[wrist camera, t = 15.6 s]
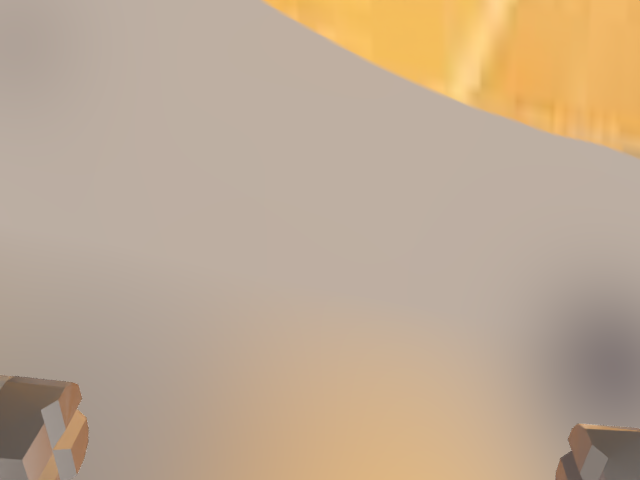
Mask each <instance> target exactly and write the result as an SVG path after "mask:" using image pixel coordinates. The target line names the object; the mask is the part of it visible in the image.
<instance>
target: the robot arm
mask: <svg viewBox="0 0 640 480" xmlns="http://www.w3.org/2000/svg"><path fill="white" fill-rule="evenodd" d="M81 400H82V396H81V392H80V388H79V385H78V384H76V383H73V382H66V381H56V380H47V379H38V378H29V377H19V376H5V375H0V480H71V479H72V478H74V477H75V476H76V475H77V474H78V472H79V470H80V467H81V465H82V463H83V461H84V458H85V454H86V450H87V446H88V441H89V439H88V438H89V436H88V435H89V427H88V422H87V418H86V417H85V416H84V415H83V414H82V413H81V412H80V411H79V410H78V409H77V408H78V406H79V404H80V402H81ZM568 442H569V445H570V447H571V450H572V451H570V452H569V453H567V454H566V455H564V456H563V457H561V458H560V461H559V464H558V467H557V470H556V479H555V480H640V429H639V428H634V427H620V426H607V425H593V424H592V425H591V424H576V425H575V426H574V428H572V430H571V432H570V435H569V437H568Z"/></svg>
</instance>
